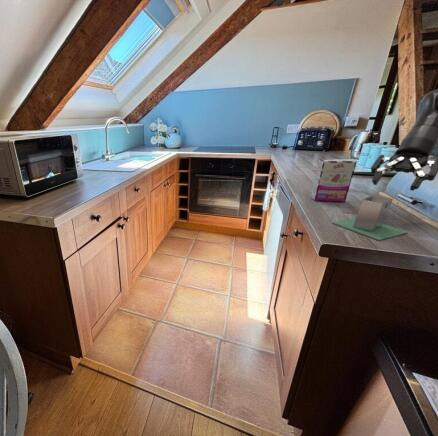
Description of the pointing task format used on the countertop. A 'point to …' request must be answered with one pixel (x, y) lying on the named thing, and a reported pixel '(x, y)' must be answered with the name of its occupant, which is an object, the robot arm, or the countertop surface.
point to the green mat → (378, 234)
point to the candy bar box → (333, 180)
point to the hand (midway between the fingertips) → (392, 186)
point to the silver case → (372, 213)
